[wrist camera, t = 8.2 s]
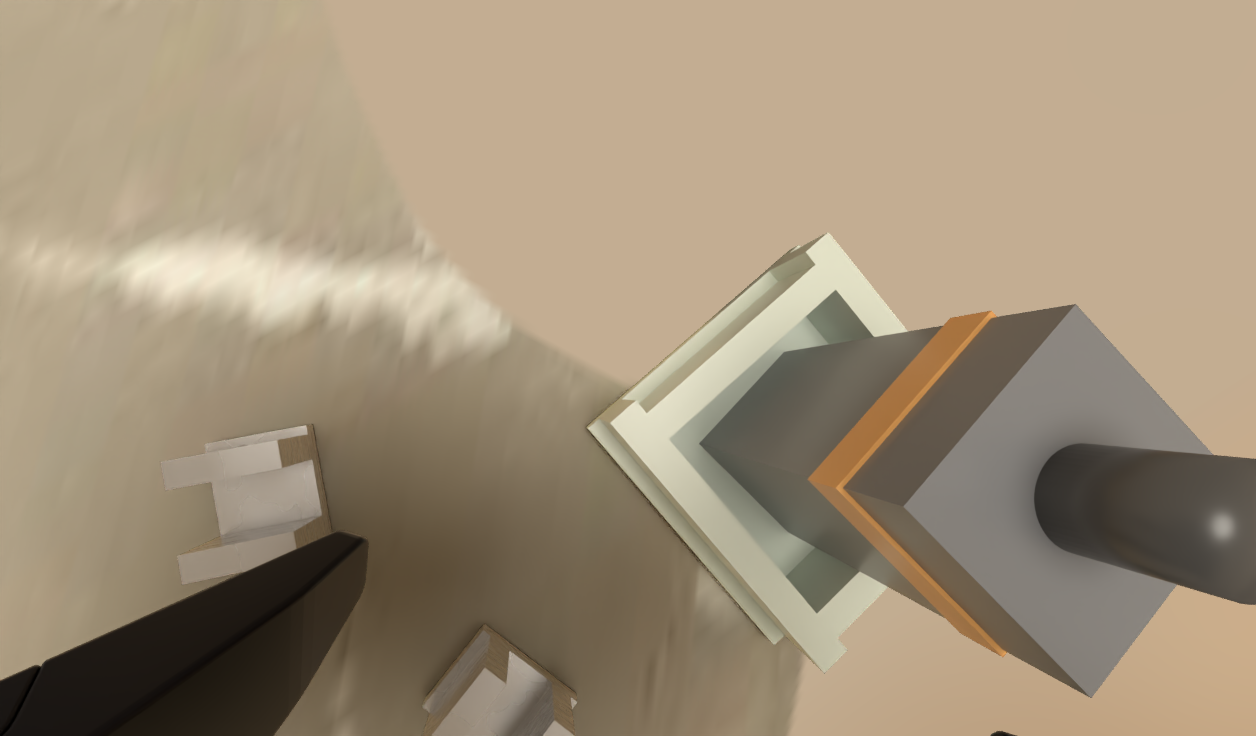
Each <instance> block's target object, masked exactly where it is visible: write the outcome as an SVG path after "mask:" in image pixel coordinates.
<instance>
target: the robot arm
mask: <svg viewBox="0 0 1256 736" xmlns="http://www.w3.org/2000/svg"><path fill="white" fill-rule="evenodd" d="M368 547H369V546H368V540H367V539H366V538H365V537H364V536H361V535H358V534H354V533H351V532H348V531H344V530H339V531H335V532H333V533H330V534H328V535H326V536H324V537H321V538H319V539H317V540H315V541H312V542H310V543H308V544H306V545H304V546H301V547H299V548H297V549H295V550H292V551H290V552H288V553H286V554H283V555H281V556H279V557H277V558H274V559H272V560H270V561H268V562H265V563H263V564H261V565H259V566H256V567H254V568H252V569H250V570H247V571H245V572H243V573H241V574H239V575H236V576H234V577H232V578H230V579H227V580H225V581H223V582H221V583H218V584H216V585H214V586H212V587H209V588H207V589H205V590H203V591H200V592H198V593H196V594H194V595H191V596H189V597H187V598H185V599H182V600H180V601H178V602H176V603H174V604H171V605H169V606H167V607H165V608H162V609H160V610H158V611H156V612H153V613H151V614H149V615H147V616H144V617H142V618H140V619H138V620H135V621H133V622H131V623H129V624H126V625H124V626H122V627H120V628H117V629H115V630H113V631H111V632H108V633H106V634H104V635H102V636H100V637H97V638H95V639H93V640H91V641H88V642H86V643H84V644H82V645H79V646H77V647H75V648H73V649H70V650H68V651H66V652H64V653H61V654H59V655H57V656H55V657H52V658H50V659H48V660H46V661H45V662H44V663H43V664H42V666H41V667H40V666H39V665H34V666H32V667H29V668H27V669H25V670H23V671H21V672H18V673H16V674H14V675H12V676H9V677H7V678H5V679H3V680H0V736H274V734H275V733H276V732H277V730H278V729H279V728H280V726H281V725H282V723H283V722H284V721H285V719H286V718H287V717H288V715H289V714H290V712H291V711H292V709H293V708H294V706H295V705H296V704H297V702H298V701H299V699H300V698H301V696H302V695H303V693H304V691H305V690H306V688H307V686H308V685H309V683H310V681H311V680H312V678H313V676H314V675H315V673H316V671H317V669H318V668H319V666H320V664H321V663H322V661H323V659H324V658H325V656H326V654H327V652H328V651H329V649H330V647H331V646H332V644H333V642H334V640H335V639H336V637H337V635H338V634H339V632H340V630H341V628H342V627H343V625H344V623H345V622H346V620H347V618H348V616H349V615H350V613H351V611H352V610H353V608H354V606H355V604H356V603H357V601H358V599H359V597H360V595H361V593H362V591H363V588H364V585H365V580H366V570H367V558H368ZM991 736H1016V735H1012V734H1009V733H1006V732H1003V731H997V732H995V733H993V734H991Z"/></svg>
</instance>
